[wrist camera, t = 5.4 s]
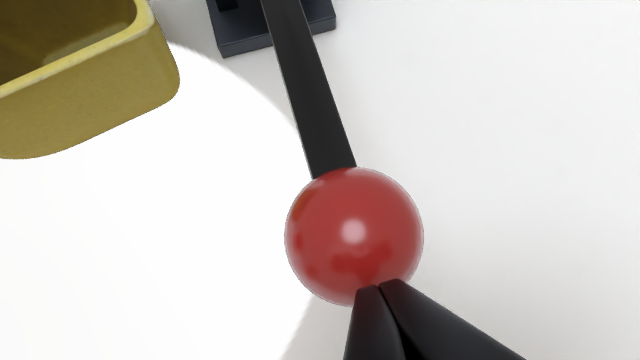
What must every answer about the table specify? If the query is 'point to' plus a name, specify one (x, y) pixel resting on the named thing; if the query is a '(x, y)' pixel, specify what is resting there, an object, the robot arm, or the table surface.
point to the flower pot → (77, 71)
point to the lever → (337, 184)
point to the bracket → (259, 23)
